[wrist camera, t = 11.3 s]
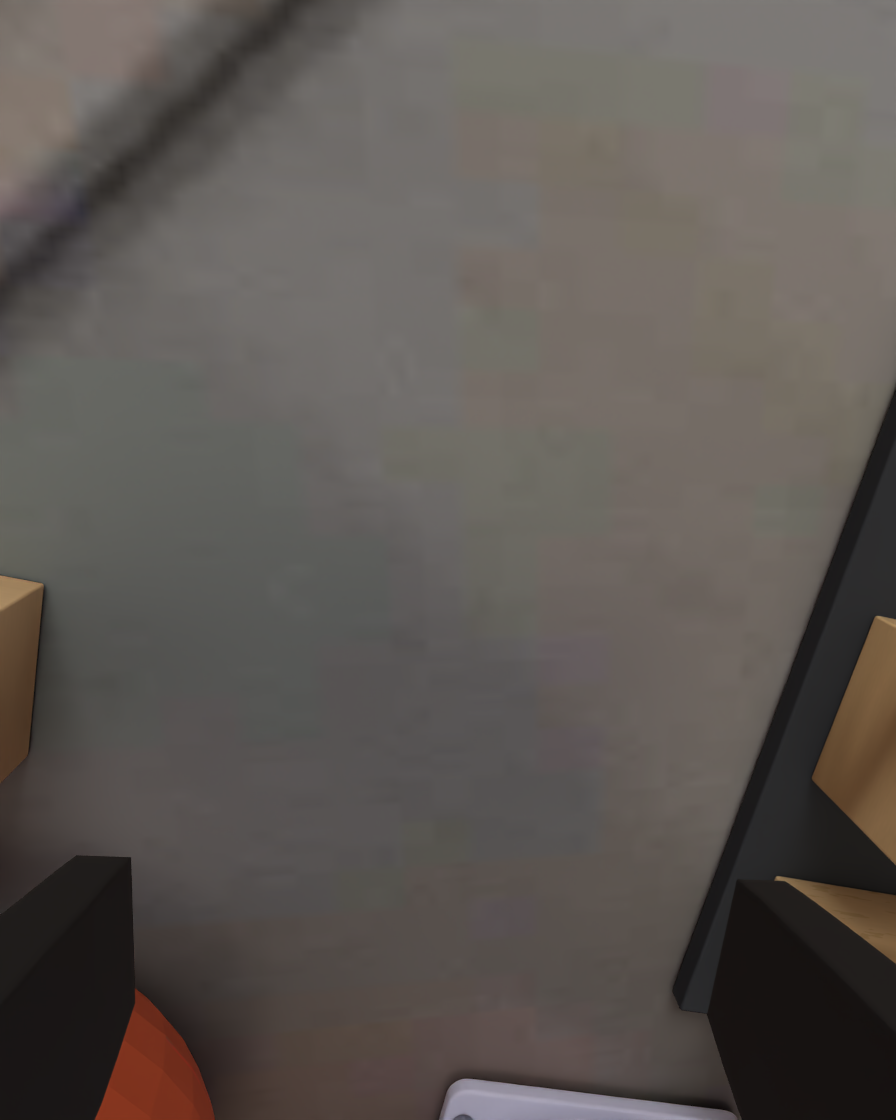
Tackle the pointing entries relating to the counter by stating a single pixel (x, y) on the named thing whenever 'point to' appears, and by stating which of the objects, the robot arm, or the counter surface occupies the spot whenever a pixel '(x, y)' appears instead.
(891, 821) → the tile
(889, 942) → the tile
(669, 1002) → the counter surface
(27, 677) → the tile
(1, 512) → the counter surface
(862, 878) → the black tile rack
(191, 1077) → the tomato
